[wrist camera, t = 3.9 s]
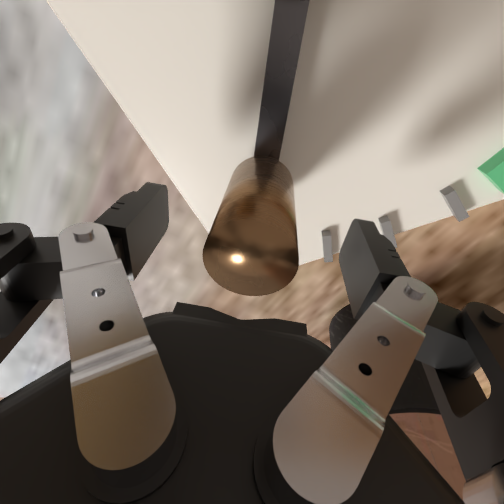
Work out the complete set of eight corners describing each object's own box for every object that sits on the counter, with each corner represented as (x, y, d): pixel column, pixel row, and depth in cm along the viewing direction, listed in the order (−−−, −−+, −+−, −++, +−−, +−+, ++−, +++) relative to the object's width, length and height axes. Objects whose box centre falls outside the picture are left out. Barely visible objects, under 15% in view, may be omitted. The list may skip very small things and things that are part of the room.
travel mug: (439, 307, 22) (860, 1014, 6) (389, 359, 26) (550, 835, 11) (347, 286, 21) (535, 989, 5) (313, 342, 26) (360, 815, 10)
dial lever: (259, -172, 8) (208, -625, 3) (378, -151, 8) (574, -559, 3) (225, 222, 17) (196, 312, 11) (284, 231, 17) (285, 326, 11)
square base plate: (37, -42, 12) (-8, -58, 10) (802, -885, 5) (1132, -1475, 3) (248, 274, 22) (245, 295, 20) (603, 156, 14) (649, 172, 13)
